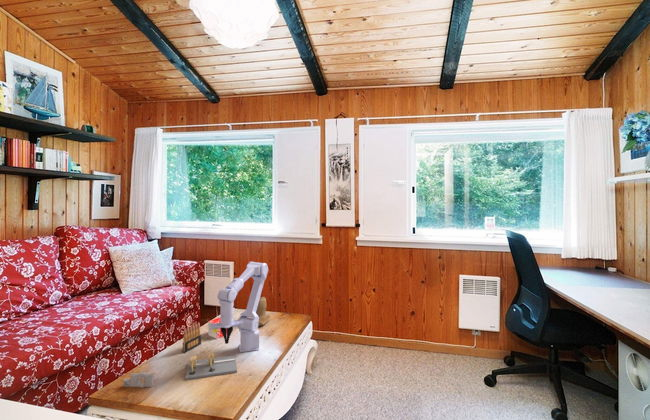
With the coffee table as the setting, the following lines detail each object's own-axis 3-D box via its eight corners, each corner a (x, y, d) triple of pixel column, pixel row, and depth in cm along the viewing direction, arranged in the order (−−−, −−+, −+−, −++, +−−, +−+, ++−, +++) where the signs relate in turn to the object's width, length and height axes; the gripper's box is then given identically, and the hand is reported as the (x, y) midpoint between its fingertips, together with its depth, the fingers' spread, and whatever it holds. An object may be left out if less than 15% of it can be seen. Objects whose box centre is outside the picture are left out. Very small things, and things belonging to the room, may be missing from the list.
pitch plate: (235, 357, 154) (235, 347, 154) (236, 372, 141) (237, 362, 141) (188, 363, 148) (188, 353, 148) (185, 380, 134) (185, 369, 134)
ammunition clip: (185, 353, 158) (185, 329, 157) (182, 352, 158) (182, 328, 158) (201, 344, 168) (201, 321, 167) (198, 343, 168) (198, 321, 168)
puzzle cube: (208, 335, 178) (208, 321, 178) (219, 330, 185) (219, 317, 185) (217, 339, 174) (217, 324, 174) (229, 334, 181) (229, 320, 180)
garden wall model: (122, 387, 129) (122, 373, 129) (125, 384, 131) (125, 370, 130) (152, 387, 129) (152, 373, 129) (155, 385, 131) (155, 370, 131)
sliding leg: (214, 360, 148) (214, 352, 148) (213, 369, 141) (213, 361, 140) (208, 360, 148) (208, 353, 148) (208, 370, 140) (208, 362, 140)
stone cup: (255, 316, 207) (255, 294, 207) (272, 318, 205) (272, 295, 204) (244, 325, 192) (244, 301, 192) (263, 327, 190) (263, 303, 189)
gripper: (210, 318, 142) (210, 348, 143) (243, 315, 147) (243, 344, 148) (210, 313, 149) (210, 341, 150) (242, 310, 154) (242, 337, 154)
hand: (226, 342), depth 149 cm, fingers closed
